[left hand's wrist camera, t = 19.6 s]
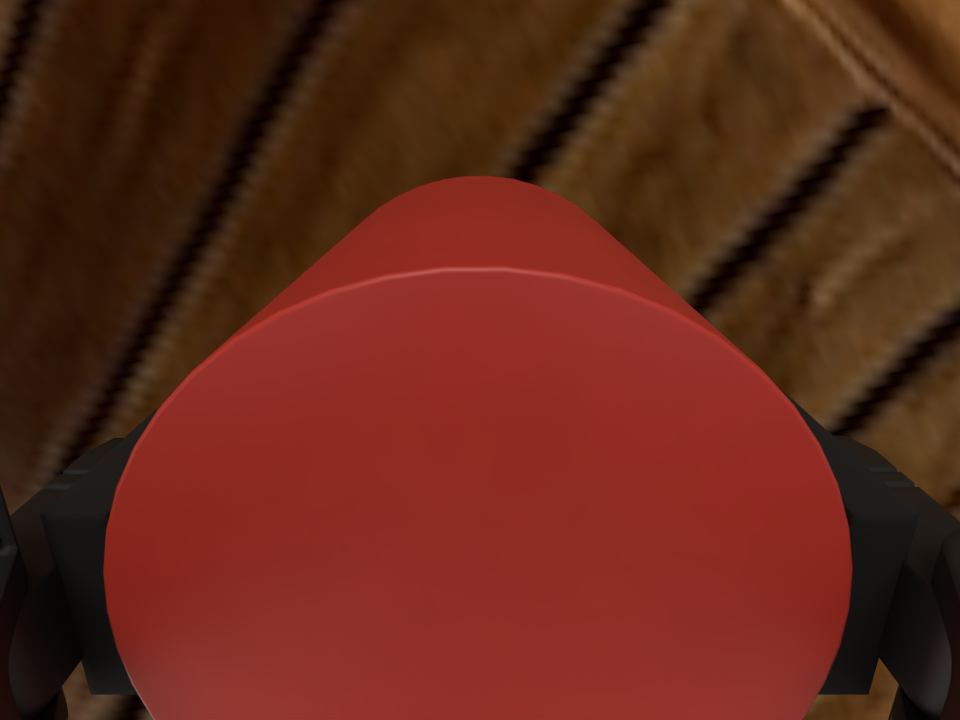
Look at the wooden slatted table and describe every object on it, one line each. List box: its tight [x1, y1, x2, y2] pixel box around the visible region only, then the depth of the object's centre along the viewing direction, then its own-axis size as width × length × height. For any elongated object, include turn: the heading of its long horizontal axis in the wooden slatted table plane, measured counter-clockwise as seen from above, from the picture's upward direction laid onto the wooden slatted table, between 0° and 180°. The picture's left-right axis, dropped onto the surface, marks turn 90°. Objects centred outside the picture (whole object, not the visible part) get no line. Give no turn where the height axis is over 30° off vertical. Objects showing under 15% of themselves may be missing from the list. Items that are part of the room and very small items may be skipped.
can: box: [103, 176, 853, 720], centre depth 12 cm, size 8×8×10 cm
